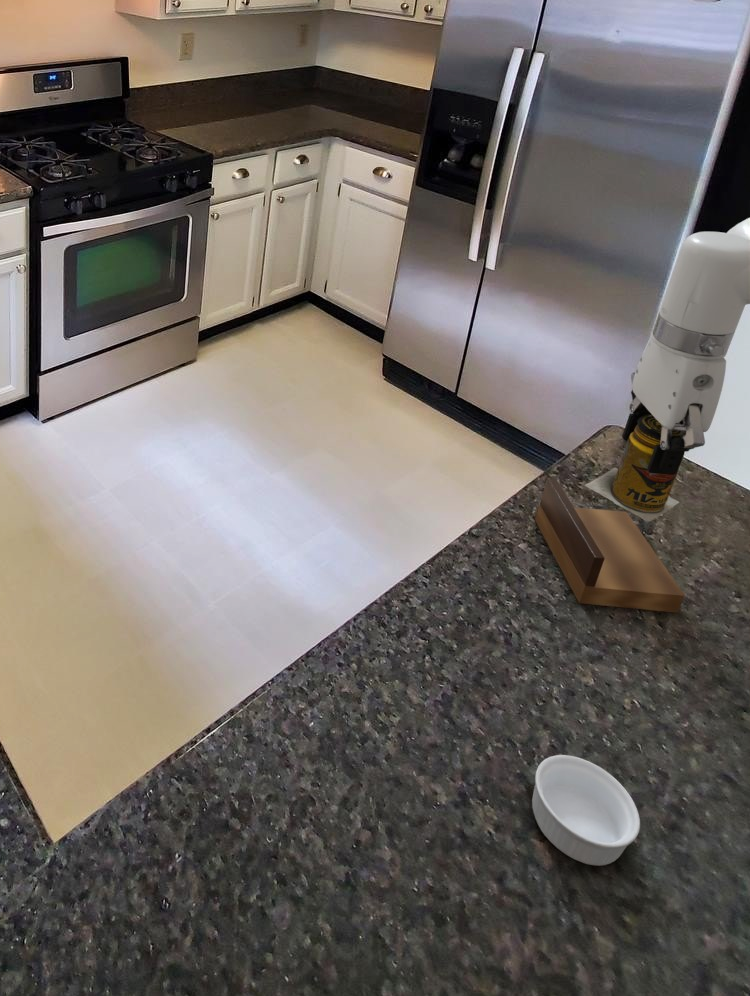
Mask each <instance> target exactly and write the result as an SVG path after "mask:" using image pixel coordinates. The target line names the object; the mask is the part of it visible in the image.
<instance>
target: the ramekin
mask: <svg viewBox="0 0 750 996" xmlns="http://www.w3.org/2000/svg"><path fill="white" fill-rule="evenodd" d="M531 807H532V811H533V816H534V819H535V821H536V824H537V825H538V828H539V830H540V831H541V832H542V834H543V835H544V837H546V839H547V840H548V841H549V842H550V843H551V844H552V845H553V846H554V847H555V848H556V849H558V850H559V851H561V852H562V853H563V854H565V855H566V856H568V857H569V858H571V859H573V860H575V861H577V862H580V863H583V864H586V865H589V866H607V865H610V864H612V863H614V862H615V861H616V860H617V859H619V858H620V857H621V856H622V854H623V853H624V851H625V849H626V848H627V847H628V846H629V845H631V844H632V843H633V842H634V841H635V840H636V839H637V837H638V836H639V833H640V829H641V819H640V815H639V814H640V813H639V811H638V808H637V805H636V803H635V801H634V800H633V798H632V797H631V795H630V794H629V792H628V791H627V789H626V788H625V787H624V786H623V785H622V784H621V783H620V782H619V780H617V779H616V778H615V777H614V776H613V775H612V774H611V773H609V772H608V771H607V770H605V769H604V768H602V767H601V766H599V765H597V764H595V763H593V762H591V761H589V760H586V759H585V758H581V757H578V756H574V755H568V754H567V755H566V754H557V755H553V756H548V757H547V758H544V759H543V760H542V761H541V762H540V763H539V764H538V766H537V768H536V771H535V777H534V789H533V794H532V799H531Z"/></svg>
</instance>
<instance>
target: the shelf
mask: <svg viewBox="0 0 750 996" xmlns="http://www.w3.org/2000/svg"><path fill="white" fill-rule="evenodd" d="M534 521H535V524H536V525H537V527H538V529H539V531H540V533H541V534H542V536H543V539H544V540H545V542H546V544H547V546H548V547H549V550H550V552H551V553H552V555H553V558H554V559H555V561H556V563H557V564H558V566H559V568H560V570H561V572H562V574H563V576H564V578H565V579H566V581H567V583H568V585H569V587H570V589H571V591H572V593H573V594H574V596H575V598H576V600H577V602H578V604H583V605H593V606H602V607H603V606H605V607H614V608H623V609H624V608H625V609H635V610H636V609H637V610H645V611H657V612H666V613H677V614H678V613H679V612H680V609H681V607H682V605H683V602H684V600H685V597H686V595H685V594H684V592H683V591H682V589H681V588H680V586H679V585H678V583H677V582H676V581H675V579H674V578H673V576H672V574H670V572H669V570H668V569H667V567H666V566H665V565H664V563H663V562H662V561H661V559H660V557H659V556H658V555H657V553H656V552H655V550H654V548H652V546H651V544H650V543H649V542H648V540H647V539H646V537H645V536H644V535H643V533H642V531H641V530H640V529H639V527H638V525H637V524H636V523H635V522H634V520H633V519H632V517H631V516H630V514H629V513H628V511H624V510H623V511H622V510H610V509H599V508H587V507H575V506H574V505H573V504H572V501H570V499H569V497H568V496H567V494H566V492H565V490H564V489H563V487H562V486H561V484H560V482H559V481H558V479H557V478H555V477H547V478H546V481H545V485H544V488H543V491H542V496H541V498H540V501H539V505H538V508H537V511H536V514H535V519H534Z"/></svg>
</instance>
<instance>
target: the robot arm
mask: <svg viewBox="0 0 750 996" xmlns="http://www.w3.org/2000/svg"><path fill="white" fill-rule="evenodd" d="M746 305H750V217H747V218H746V219H744V220H742V221H741V222H738V223H737V224H735V225H734V226H733V227H731V228H730V229H729V230H728V231H727V232H720V231H698V232H695V233H691V234H690V235H689V236H687V237H686V238H685V239H684V240H683V242H682V244H681V246H680V248H679V251H678V254H677V258H676V260H675V264H674V266H673V269H672V272H671V275H670V278H669V281H668V283H667V288H666V290H665V293H664V296H663V299H662V303H661V305H660V308H659V311H658V314H657V317H656V320H655V324H654V326H653V329H652V332H651V335H650V338H649V339H648V341H647V343H646V346H645V347H644V350H643V351H642V354H641V357H640V359H639V362H638V364H637V366H636V369H635V371H634V372H632V373H631V375H630V379H631V391H630V394H631V399H632V401H631V403H630V404H629V405H628V408H629V412H630V413H629V415H628V416H627V417H628V418H627V420H626V424H625V427H624V429H623V432H622V435H621V438H622V439H623V440H624V442H625V441H626V442H627V441H628V438H629V436H630V434H631V433H632V432H634V429H635V427H636V426H637V424H638V420H639V418H640V417H642V416H644V415H650V414H652V415H653V416H654V417H655V418H656V419H657V420H658V422H659V423H661V424H662V430H661V441H660V445H655V448H654V451H653V454H652V456H651V459H650V462H649V465H648V468H647V469H648V471H649V472H650V473H656V474H669V475H675V474H676V473H677V474H678V472H679V469H680V467H681V465H680V463H681V464H682V462H683V460H682V458H683V459H684V457H683V455H684V456H685V454H684V453H688V452H689V451H690V450H693V449H696V448H699V447H703V446H705V444H706V439H705V434H704V433H706V432H708V431H709V430H710V428H711V425H712V423H713V420H714V417H715V415H716V412H717V408H718V404H719V403H720V398H721V395H722V391H723V387H724V382H725V376H726V370H727V369H726V368H727V360H726V359H725V357H726V355H727V354H728V350H729V348H730V346H731V344H732V341H733V338H734V336H735V333H736V330H737V328H738V325H739V322H740V320H741V318H742V315H743V312H744V310H745V307H746ZM680 422H682V425H680V424H676V423H680ZM672 430H675V431H681V435H680V438H674V439H671V434H672ZM681 461H682V462H681ZM678 468H679V469H678ZM677 471H678V472H677Z"/></svg>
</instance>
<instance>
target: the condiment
mask: <svg viewBox="0 0 750 996" xmlns="http://www.w3.org/2000/svg"><path fill="white" fill-rule="evenodd" d="M676 424H680V425H683V423H680V422H679V423H676ZM661 430H662V424H661V423H659V422H658V420H657V419H656V418H655V417H654V416H653V415H652V414H650V415H644V416H642V417H640V418H639V420H638V424H637V426H636V427H635V429H634V432H632V433H631V434H630V436H629V438H628V441H626V445H625V447H624V450H623V453H622V456H621V460H620V462H619V465H618V468H617V467H614V466H613V468H611V469H610V470H608V471H606V472H605V473H603V474H602V475H599V476H598V477H597V478H595V479H593V480H591V481H589V482H588V483H586V484H584V485H583V486H584V487H585V488H588V489H590V490H592V491H593V492H595V493H598V494H599V495H600V496H602V497H603V498H606V499H608V500H609V501H611V502H613V503H614V504H616V505H618V506H619V507H620V508H622V509H624V510H626V511H627V512H630V513H632V514H633V515H635V516H637V517H639V518H640V519H642V520H644V521H646V522H649V523H651V522H652V521H653V520H655V519H658V518H659V517H660V516H662V515H664V514H665V513H667V512H668V511H669V510H671V509H672V508H673V507H675V506H677V505H678V504H680V501H679V500H677V499H675V498H672V497H671V496H670V493H671V492H672V487H673V486H674V483H675V480H676V477H677V475H678V472H679V469H680V467H679V468H678V471H677V473H676V474H675V475H669V474H656V473H650V472H649V471H648V469H647V468H648V465H649V462H650V459H651V456H652V454H653V451H654V448H655V445H660V441H661ZM680 435H681V431H675V430H672V434H671V439H674V438H680ZM685 453H686V452H685ZM685 453H684V455H683V458H682V461H681V463H680V466H681V465H682V462H683V460H684V457H685Z"/></svg>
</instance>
